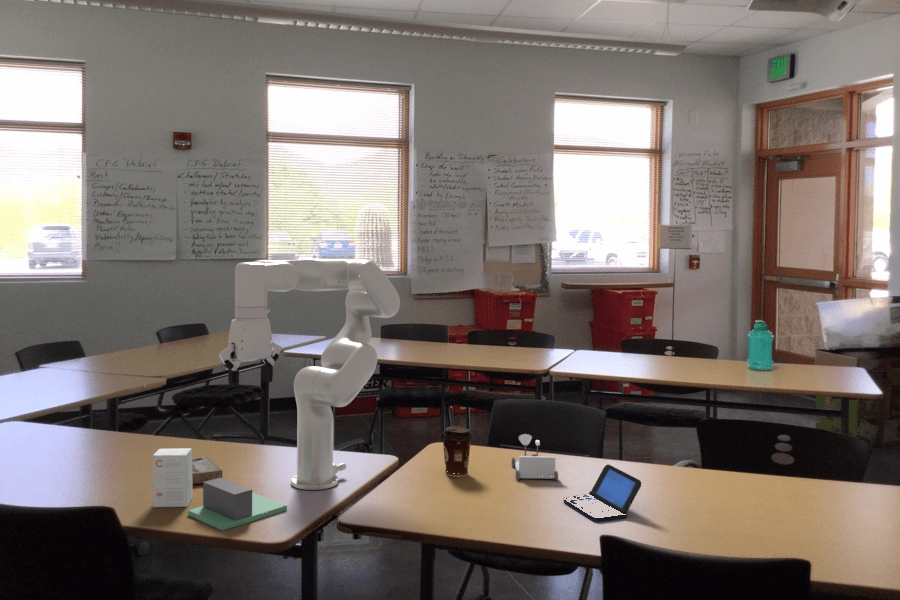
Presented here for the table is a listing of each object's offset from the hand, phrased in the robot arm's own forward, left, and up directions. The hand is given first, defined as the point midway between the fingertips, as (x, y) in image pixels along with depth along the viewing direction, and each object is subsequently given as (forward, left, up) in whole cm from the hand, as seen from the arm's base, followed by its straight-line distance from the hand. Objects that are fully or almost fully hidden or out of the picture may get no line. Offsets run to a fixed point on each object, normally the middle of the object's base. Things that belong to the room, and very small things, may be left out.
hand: (250, 383), depth 188 cm
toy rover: (-72, +35, -31) cm, 86 cm away
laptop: (-58, +64, -31) cm, 92 cm away
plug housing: (+8, +2, -29) cm, 30 cm away
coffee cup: (-55, +20, -31) cm, 66 cm away
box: (-4, -30, -31) cm, 43 cm away
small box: (+12, -15, -31) cm, 36 cm away
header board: (+5, +2, -30) cm, 31 cm away
